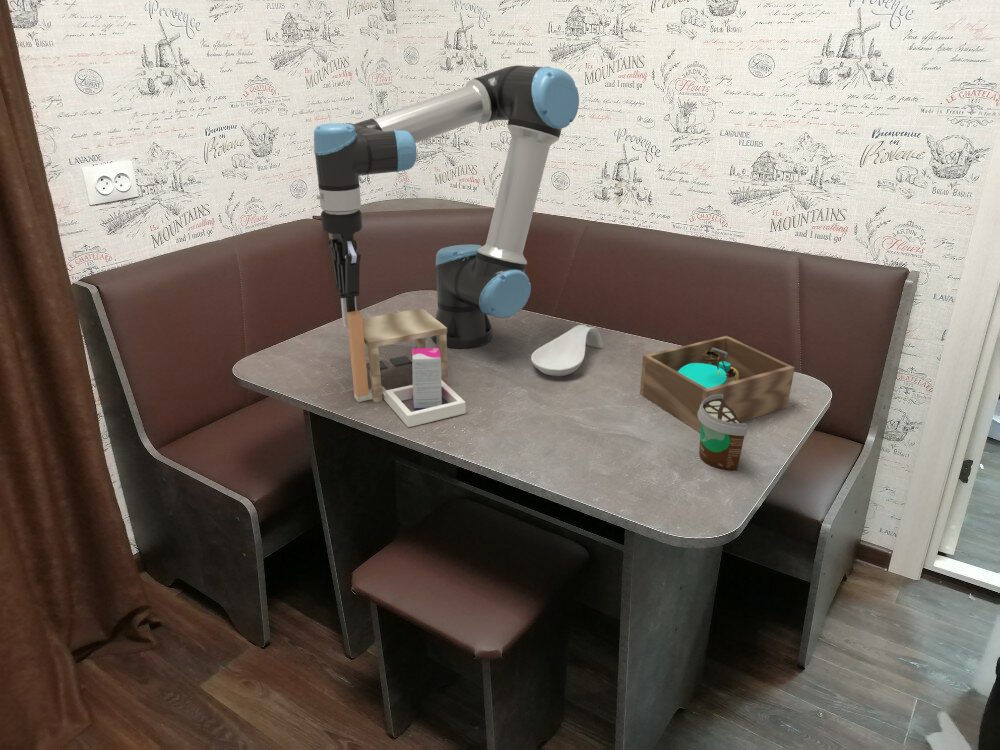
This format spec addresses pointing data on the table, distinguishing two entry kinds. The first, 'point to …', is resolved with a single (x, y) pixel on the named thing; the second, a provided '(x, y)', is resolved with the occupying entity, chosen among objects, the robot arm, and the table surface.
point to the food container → (720, 434)
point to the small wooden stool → (401, 339)
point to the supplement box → (426, 378)
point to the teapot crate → (748, 396)
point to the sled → (398, 394)
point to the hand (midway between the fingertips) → (350, 325)
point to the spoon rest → (566, 351)
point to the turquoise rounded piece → (711, 370)
